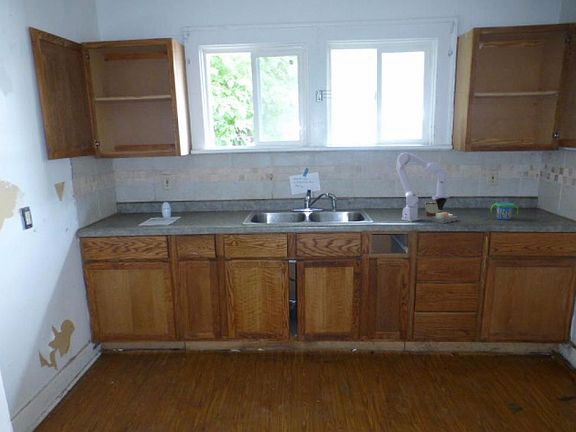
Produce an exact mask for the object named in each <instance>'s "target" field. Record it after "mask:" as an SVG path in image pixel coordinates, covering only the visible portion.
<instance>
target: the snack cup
mask: <svg viewBox="0 0 576 432" xmlns="http://www.w3.org/2000/svg"><path fill="white" fill-rule="evenodd" d="M494 206H495V208H496V210H495V211H496V219H498V220H503V221H504V220H505V221H508V220H511V216H512V214H513V210H514V208H516V209H517V210H516V213H515V214H516V216H517V215H518V214H519V208H518V206H517V205H515V203H511V202H495V203H493V204H492V205H491V207H490V213H491V214H492V213H493V212H492V211H493V207H494Z"/></svg>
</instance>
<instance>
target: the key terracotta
mask: <svg viewBox="0 0 576 432" xmlns="http://www.w3.org/2000/svg"><path fill="white" fill-rule="evenodd" d="M441 213H443V214H444V218H447V217H448V214H450V212H446V211H441Z"/></svg>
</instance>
